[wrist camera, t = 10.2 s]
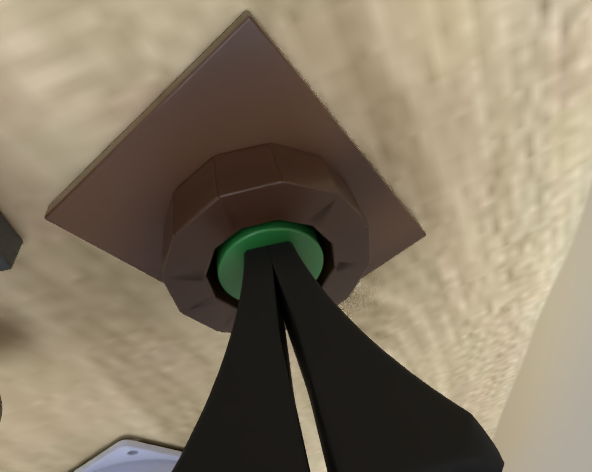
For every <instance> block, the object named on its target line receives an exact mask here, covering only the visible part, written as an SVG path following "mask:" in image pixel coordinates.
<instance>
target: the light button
mask: <svg viewBox="0 0 592 472" xmlns="http://www.w3.org/2000/svg"><path fill="white" fill-rule="evenodd" d="M285 241H290V242H291V243H293V245H294V247H295V249H296V251H297V253H298V255H299V256H300V258H301V260H302V261H303V263H304V264H305V266H306V267H307V269H308V270H309V271H310V273H311V274H312V276H313V277H314V278H315V280H317V278H318V277H319V275H320V273H321V270H322V267H323V262H324V255H323V250H322V248H321V245H320V242H319V240H318V237H317V235H316V232H315V229H314V227H313V226H311V225H306V224H300V223H294V222H289V221H283V220H274V221H270V222H266V223H262V224H258V225H254V226H250V227H246V228H242V229H240V230H238V231H237V232H236V233H234V234H233V235H232V236H231V237H229V238H228V239H227V240H226V241H224V242H223V243H222V244H221V245H219V246H218V247H217V248H215V252H216V262H217V273H218V279H219V282H220V284H221V286H222V287H223V288H224V290H225V291H226V292H227V293H228V294H229V295H231V296H232V297H234V298H236V299H237V300H239V298H240V293H241V287H242V280H243V271H244V253H245V252H246V251H247V250H250V249H254V248H259V247H263V246H267V245H272V244H276V243H281V242H285Z"/></svg>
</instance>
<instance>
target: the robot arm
mask: <svg viewBox="0 0 592 472" xmlns="http://www.w3.org/2000/svg"><path fill="white" fill-rule="evenodd" d="M284 322H285V324H284ZM285 325H286V328H287V331H288V334H289V337H290V340H291V343H292V346H293V349H294V352H295V355H296V358H297V361H298V364H299V367H300V370H301V373H302V376H303V379H304V382H305V385H306V388H307V391H308V394H309V398H310V401H311V405H312V409H313V414H314V418H315V422H316V426H317V430H318V434H319V438H320V443H321V447H322V451H323V455H324V459H325V463H326V468H327V472H502V469H503V466H504V461H503V460H502V458H501V455H500V453H499V451H498V450H497V448H496V446H495V445H494V443H493V442H492V440H491V439H490V438H489V436H488V435H487V433H486V432H485V431H484V429H483V428H482V427H481V425H480V424H479V423H478V422H477V420H476V419H475V418H474V417H473V415H472V414H471V413H469V412H468V411H466V410H465V409H463V408H461V407H460V406H458V405H457V404H455V403H454V402H452V401H451V400H449V399H448V398H446V397H445V396H443V395H442V394H440V393H439V392H437V391H436V390H434V389H433V388H431V387H430V386H429V385H427V384H426V383H425V382H423V381H422V380H420V379H419V378H418V377H416V376H415V375H413V374H412V373H411V372H410V371H408V370H407V369H406V368H405V367H403V366H402V365H401V364H400V363H398V362H397V361H396V360H395V359H393V358H392V357H391V356H390V355H388V354H387V353H386V352H385V351H383V350H382V349H381V348H380V347H379V346H378V345H377V344H375V343H374V342H373V341H372V340H371V339H370V338H369V337H368V336H367V335H366V334H364V333H363V332H362V331H361V330H360V329H359V328H358V327H357V326H356V325H355V324H354V323H353V322H352V321H351V320H350V319H349V318H348V317H347V316H346V315H345V314H344V313H343V311H342V310H341V309H340V308H339V307H338V306H337V305H336V304H335V303H334V301H333V300H332V299H331V298H330V297H329V296H328V295H327V293H326V292H325V291H324V290H323V288H322V287H321V286H320V285H319V283H318V282H317V281H316V280H315V278H314V277H313V276H312V274H311V273H310V271H309V270H308V269H307V267H306V266H305V264H304V263H303V261H302V260H301V258H300V256H299V255H298V253H297V251H296V249H295V247H294V245H293V243H291V242H290V241H285V242H281V243H276V244H272V245H267V246H263V247H259V248H254V249H250V250H247V251H246V252H245V253H244V271H243V280H242V287H241V293H240V298H239V303H238V308H237V313H236V317H235V321H234V325H233V328H232V332H231V336H230V340H229V343H228V346H227V349H226V352H225V355H224V358H223V361H222V364H221V367H220V370H219V372H218V375H217V378H216V380H215V383H214V385H213V388H212V390H211V393H210V395H209V398H208V400H207V402H206V404H205V407H204V409H203V411H202V413H201V415H200V417H199V420H198V422H197V424H196V426H195V428H194V430H193V432H192V434H191V436H190V438H189V440H188V442H187V444H186V446H185V448H184V450H183V452H182V451H177V450H173V449H169V448H164V447H160V446H156V445H151V444H147V443H142V442H138V441H134V440H128V439H127V440H121V441H119V442H117V443H116V444H114V445H113V446H111V447H110V448H108V449H107V450H105V451H104V452H102V453H101V454H99V455H98V456H96V457H94V458H93V459H91V460H90V461H88V462H87V463H85V464H84V465H82V466H81V467H79V468H78V469H76V470H75V471H73V472H310V468H309V463H308V459H307V454H306V450H305V445H304V440H303V436H302V431H301V427H300V422H299V418H298V413H297V409H296V404H295V398H294V392H293V385H292V377H291V369H290V362H289V354H288V346H287V339H286V331H285Z"/></svg>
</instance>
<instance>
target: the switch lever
mask: <svg viewBox="0 0 592 472" xmlns="http://www.w3.org/2000/svg"><path fill="white" fill-rule="evenodd" d="M1 416H2V401H1V396H0V420H1Z"/></svg>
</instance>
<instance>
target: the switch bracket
mask: <svg viewBox="0 0 592 472" xmlns="http://www.w3.org/2000/svg"><path fill="white" fill-rule="evenodd" d="M21 245H22V241H21V239H20V238H19V237H18V235H17V234H16V233H15V232H14V230H13V229H12V228H11V226H10V225H9V224H8V223H7V221H6V220H5V219H4V217H3V216H2V215H1V213H0V271H4V270H8V269H11V268H12V266H13V264H14V262H15V259H16V257H17V255H18V252H19V250H20V247H21Z"/></svg>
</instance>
